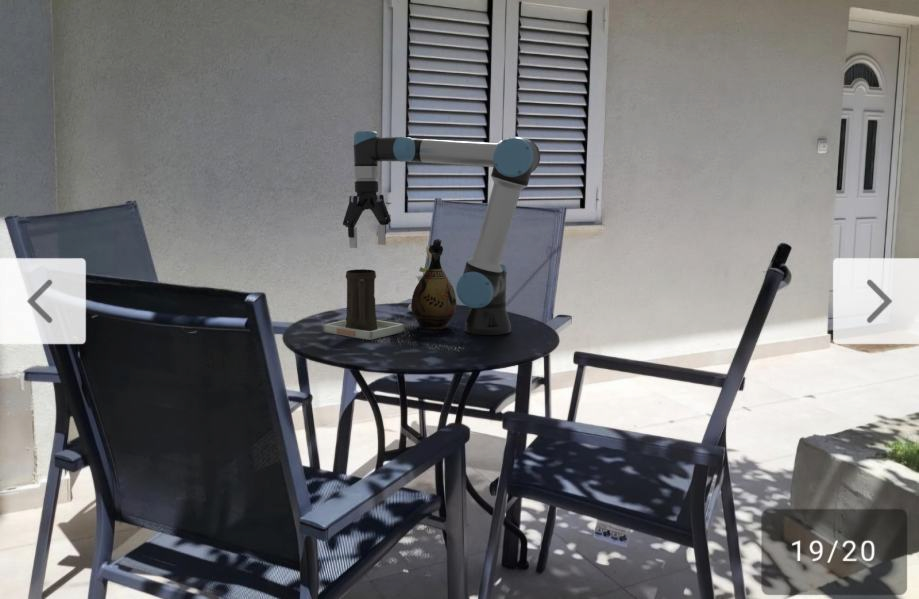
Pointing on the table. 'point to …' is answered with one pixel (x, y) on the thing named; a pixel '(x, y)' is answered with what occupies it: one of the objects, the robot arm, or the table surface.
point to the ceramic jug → (434, 294)
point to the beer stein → (361, 300)
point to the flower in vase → (423, 269)
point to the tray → (382, 330)
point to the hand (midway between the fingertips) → (367, 246)
